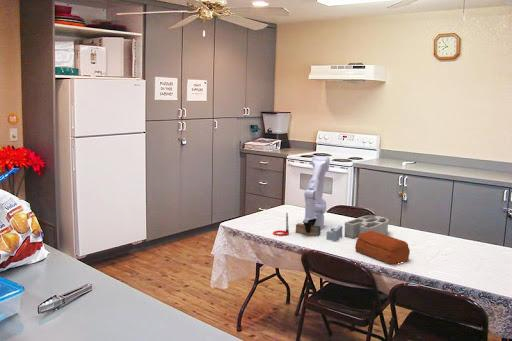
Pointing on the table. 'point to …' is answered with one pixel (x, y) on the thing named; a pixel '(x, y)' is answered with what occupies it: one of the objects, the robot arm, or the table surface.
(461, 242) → the table surface
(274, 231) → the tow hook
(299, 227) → the brown wooden block
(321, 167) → the robot arm
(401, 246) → the bread
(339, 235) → the grey block
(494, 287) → the table surface
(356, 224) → the grey hollow block
